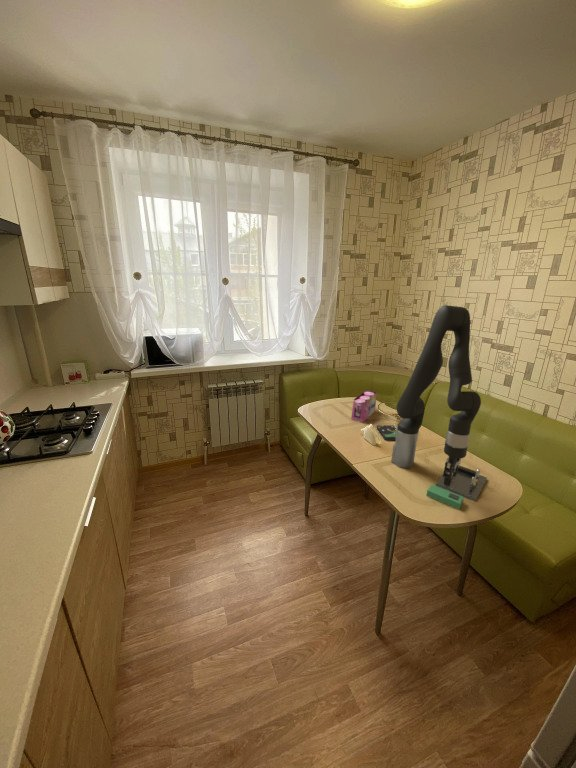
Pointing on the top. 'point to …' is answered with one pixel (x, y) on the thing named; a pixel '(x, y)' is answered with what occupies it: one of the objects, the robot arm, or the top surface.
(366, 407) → the pink multipack of cans
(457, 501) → the board
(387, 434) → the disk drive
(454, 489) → the chassis
